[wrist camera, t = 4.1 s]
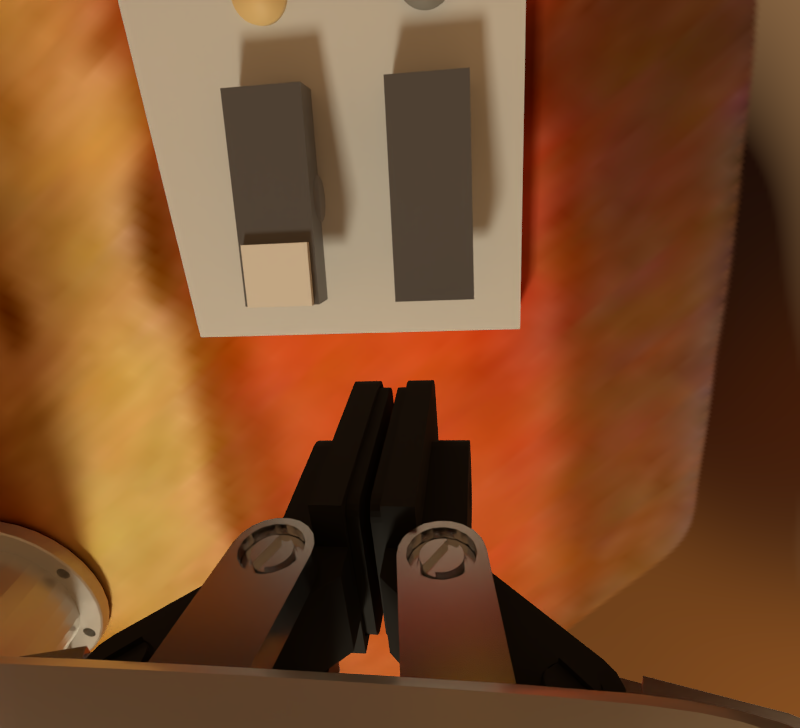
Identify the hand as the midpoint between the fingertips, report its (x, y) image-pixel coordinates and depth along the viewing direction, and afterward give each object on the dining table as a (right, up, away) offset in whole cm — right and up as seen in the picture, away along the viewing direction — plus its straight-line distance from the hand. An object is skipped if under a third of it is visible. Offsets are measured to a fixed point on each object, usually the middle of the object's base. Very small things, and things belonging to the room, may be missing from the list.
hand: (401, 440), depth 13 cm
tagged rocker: (-5, +8, +12) cm, 15 cm away
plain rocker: (+1, +8, +11) cm, 14 cm away
